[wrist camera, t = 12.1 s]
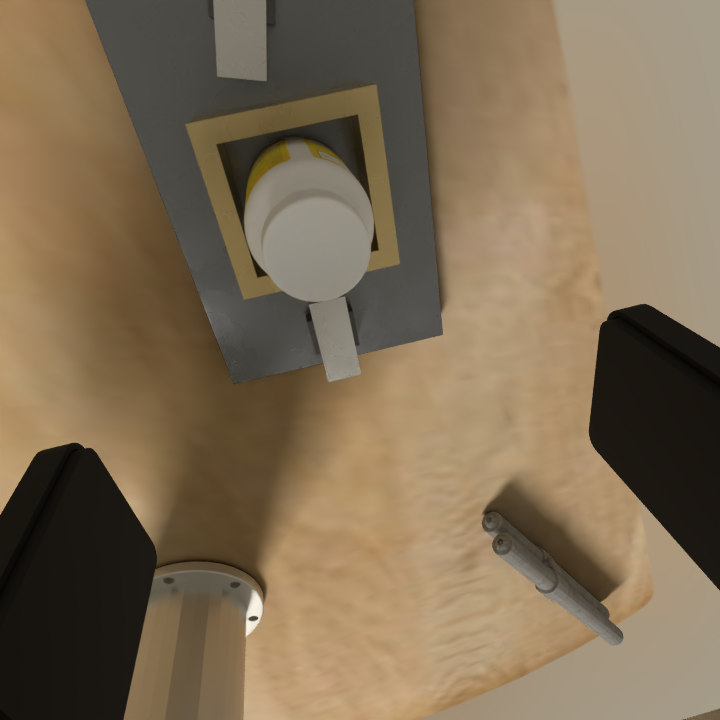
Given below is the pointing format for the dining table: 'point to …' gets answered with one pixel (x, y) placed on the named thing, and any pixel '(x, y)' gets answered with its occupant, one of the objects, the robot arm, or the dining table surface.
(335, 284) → the supplement bottle
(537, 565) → the metal rod assembly
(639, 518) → the dining table surface
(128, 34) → the stand
